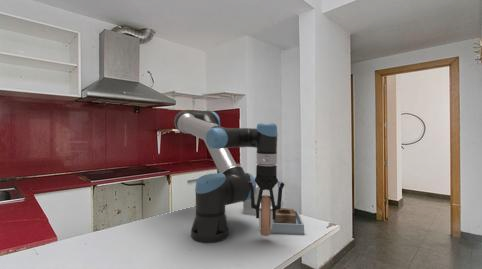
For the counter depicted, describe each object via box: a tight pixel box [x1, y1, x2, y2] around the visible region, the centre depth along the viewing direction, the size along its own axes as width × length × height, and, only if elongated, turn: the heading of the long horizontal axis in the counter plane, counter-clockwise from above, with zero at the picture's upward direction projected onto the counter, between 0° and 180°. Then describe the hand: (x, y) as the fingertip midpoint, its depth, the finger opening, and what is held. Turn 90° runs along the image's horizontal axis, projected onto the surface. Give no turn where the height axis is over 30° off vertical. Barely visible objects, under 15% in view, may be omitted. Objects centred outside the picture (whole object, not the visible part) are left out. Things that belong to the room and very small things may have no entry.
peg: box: [260, 194, 272, 237], centre depth 89 cm, size 4×4×14 cm
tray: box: [270, 210, 305, 236], centre depth 104 cm, size 17×17×4 cm
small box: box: [242, 184, 260, 216], centre depth 121 cm, size 8×6×13 cm
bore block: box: [273, 207, 296, 224], centre depth 104 cm, size 9×9×5 cm
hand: (265, 226), depth 89 cm, fingers closed on peg, 3 cm apart
